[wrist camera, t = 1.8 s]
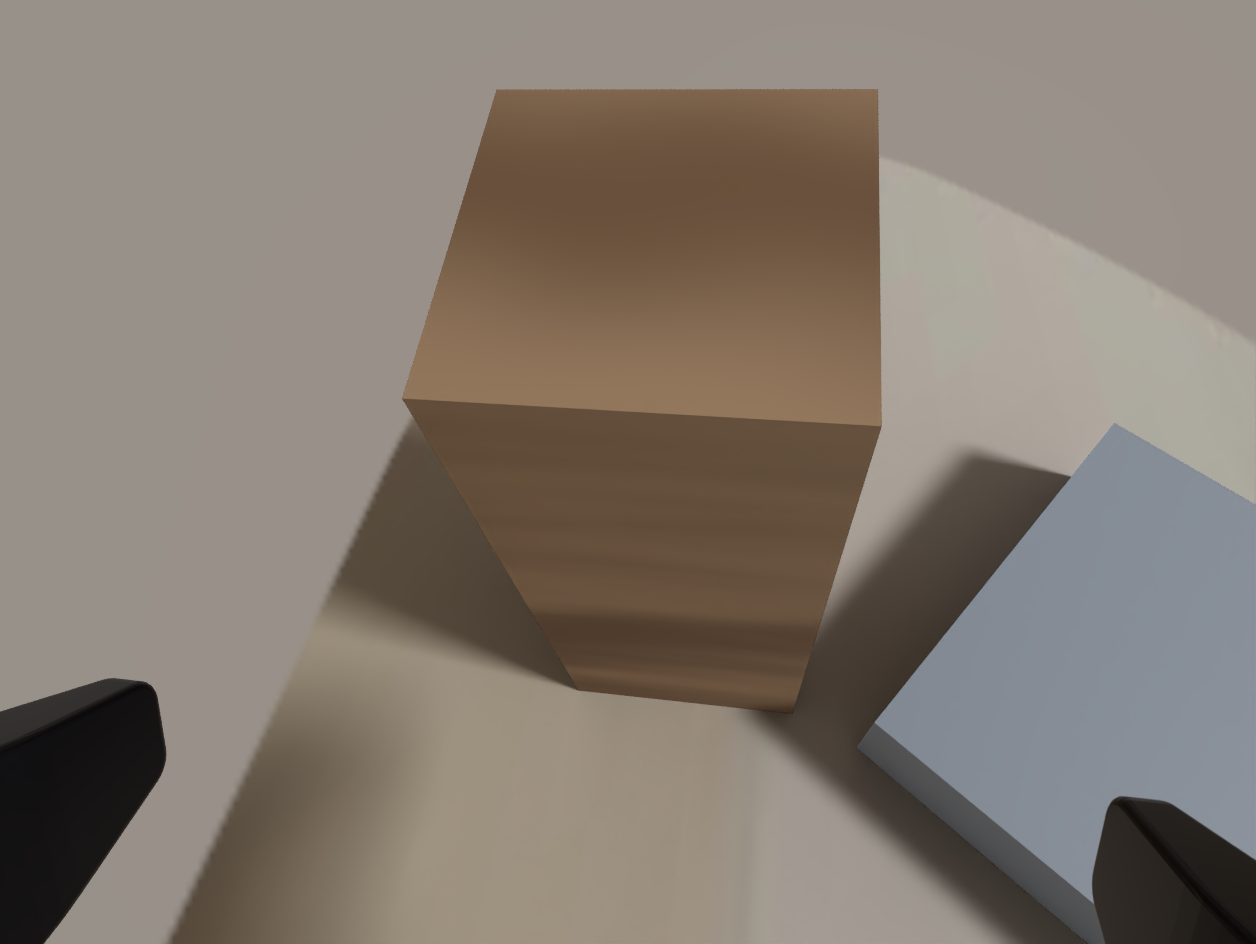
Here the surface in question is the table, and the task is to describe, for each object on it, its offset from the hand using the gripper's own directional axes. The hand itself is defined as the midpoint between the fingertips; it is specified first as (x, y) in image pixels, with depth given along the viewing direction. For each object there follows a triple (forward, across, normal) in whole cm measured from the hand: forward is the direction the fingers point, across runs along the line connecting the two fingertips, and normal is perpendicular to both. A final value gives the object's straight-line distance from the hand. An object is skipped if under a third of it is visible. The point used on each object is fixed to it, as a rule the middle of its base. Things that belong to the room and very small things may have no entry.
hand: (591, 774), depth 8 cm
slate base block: (+11, -10, +6) cm, 16 cm away
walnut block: (+12, 0, +4) cm, 13 cm away
